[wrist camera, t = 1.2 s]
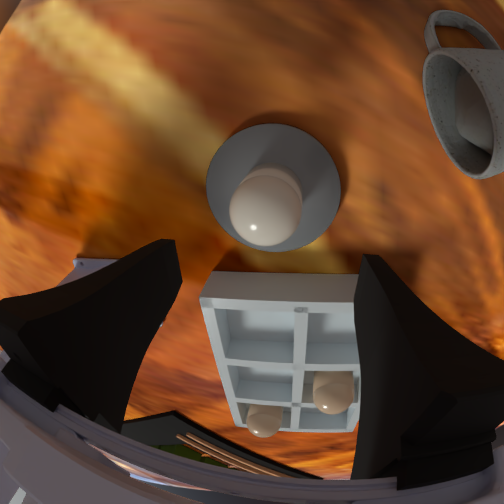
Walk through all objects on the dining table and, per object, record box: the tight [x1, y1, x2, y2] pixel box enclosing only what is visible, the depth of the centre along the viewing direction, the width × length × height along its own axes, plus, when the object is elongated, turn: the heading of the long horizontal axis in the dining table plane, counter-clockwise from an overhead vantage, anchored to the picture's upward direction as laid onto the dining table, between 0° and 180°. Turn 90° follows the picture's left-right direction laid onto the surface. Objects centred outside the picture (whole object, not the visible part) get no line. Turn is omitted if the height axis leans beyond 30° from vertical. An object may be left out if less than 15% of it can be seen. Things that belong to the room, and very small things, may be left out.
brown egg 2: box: [313, 371, 354, 415], centre depth 24 cm, size 4×4×5 cm
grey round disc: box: [206, 123, 341, 252], centre depth 19 cm, size 9×9×1 cm
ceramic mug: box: [422, 10, 504, 179], centre depth 9 cm, size 11×8×8 cm
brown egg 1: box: [246, 404, 284, 437], centre depth 29 cm, size 4×4×5 cm
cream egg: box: [229, 163, 303, 246], centre depth 16 cm, size 4×4×5 cm
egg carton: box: [199, 271, 361, 432], centre depth 26 cm, size 15×22×4 cm
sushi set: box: [121, 411, 323, 480], centre depth 55 cm, size 45×45×4 cm
